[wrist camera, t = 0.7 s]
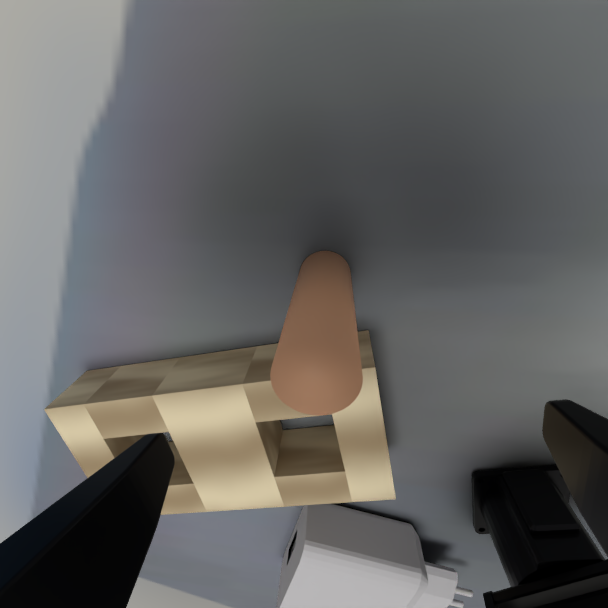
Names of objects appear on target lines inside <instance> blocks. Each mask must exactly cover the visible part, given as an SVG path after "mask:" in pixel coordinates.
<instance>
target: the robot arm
mask: <svg viewBox="0 0 608 608" xmlns="http://www.w3.org/2000/svg"><path fill="white" fill-rule="evenodd" d="M542 431H543V437H544V440H545V442H546V444H547V446H548V448H549V450H550V452H551V454H552V456H553V459H554V461H555V463H556V465H553V466H540V467H527V468H514V469H500V470H487V471H477V472H475V473H473V474H472V498H473V526H474V528H475V531H476V532H477V533H479V534H490V535H491V538H492V540H493V543H494V545H495V548H496V550H497V553H498V555H499V558H500V560H501V563H502V565H503V568H504V570H505V573H506V575H507V578H508V580H509V583H510V585H511V587H510V588H507V589H503V590H500V591H496V592H492V591H489V592H486V593H483V596H484V601H485V606H486V608H608V559H607V560H605V559H604V557H603V556H602V554H601V553H600V551H599V550H598V548H597V547H596V545H595V543H594V542H593V540H592V539H591V537H590V536H589V534H588V533H587V531H586V530H585V528H584V527H583V525H582V524H581V522H580V520H579V519H578V517H577V516H576V514H575V513H574V511H573V510H572V508H571V507H570V505H569V504H568V503H569V495H570V493H571V495H572V497H573V499H574V501H575V503H576V505H577V507H578V509H579V510H580V512H581V514H582V516H583V517H584V519H585V521H586V522H587V524H588V526H589V527H590V529H591V531H592V532H593V534H594V535H595V537H596V539H597V540H598V542H599V543H600V545H601V547H602V548H603V550H604V552H605V553H606V555H607V556H608V419H606V418H605V417H603V416H601V415H599V414H597V413H595V412H593V411H591V410H589V409H587V408H585V407H583V406H581V405H579V404H577V403H575V402H573V401H570V400H553V401H548V402H547V403H546V405H545V410H544V419H543V430H542ZM174 465H175V458H174V454H173V452H172V450H171V447H170V445H169V443H168V440H167V438H166V436H165V435H164V434H163V433H151V434H147V435H145V436H143V437H142V438H141V439H139V440H138V441H137V442H135V443H134V444H133V445H131V446H130V447H129V448H127V449H126V450H125V451H123V452H122V453H121V454H119V455H118V456H117V457H115V458H114V459H113V460H111V461H110V462H109V463H107V464H106V465H105V466H103V467H102V468H101V469H99V470H98V471H97V472H95V473H94V474H93V475H91V476H90V477H89V478H87V479H86V480H85V481H83V482H82V483H81V484H79V485H78V486H77V487H75V488H74V489H73V490H71V491H70V492H69V493H67V494H66V495H65V496H63V497H62V498H60V499H59V500H58V501H56V502H55V503H54V504H52V505H51V506H50V507H48V508H47V509H46V510H44V511H43V512H42V513H40V514H39V515H38V516H36V517H35V518H34V519H32V520H31V521H30V522H28V523H27V524H26V525H24V526H23V527H22V528H20V529H19V530H18V531H16V532H15V533H14V534H13V535H11V536H10V537H9V538H7V539H6V540H4V541H3V542H2V543H0V608H126V606H127V604H128V601H129V598H130V596H131V594H132V591H133V588H134V586H135V583H136V581H137V578H138V575H139V573H140V570H141V568H142V565H143V562H144V560H145V557H146V555H147V552H148V549H149V547H150V544H151V542H152V539H153V536H154V533H155V531H156V528H157V525H158V521H159V518H160V515H161V511H162V508H163V504H164V501H165V497H166V494H167V490H168V487H169V483H170V480H171V476H172V472H173V469H174Z"/></svg>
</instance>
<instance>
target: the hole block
mask: <svg viewBox="0 0 608 608" xmlns="http://www.w3.org/2000/svg"><path fill="white" fill-rule="evenodd" d="M358 340H359V349H360V357H361V366H362V375H363V384H362V388H361V391H360V393H359V395H358V397H357V398H356V399H355V400H354V402H353V403H351V404H350V405H349V406H348V407H346V408H345V409H343V410H341V411H339V412H336V413H333V414H332V416H333V421H334V425H329V426H319V427H309V428H300V429H290V430H283V429H282V425H281V422H280V420H283V419H293V418H302V417H311V416H320V415H309V414H304V413H301V412H298V411H296V410H294V409H292V408H290V407H289V406H287V405H286V404H285V403H283V402H282V401H281V400H280V399H279V397H278V396H277V395H276V393H275V391H274V390H273V387H272V384H271V379H270V373H271V367H272V363H273V360H274V357H275V353H276V350H277V346H278V343H276V344H269V345H262V346H255V347H248V348H242V349H235V350H228V351H221V352H214V353H207V354H200V355H193V356H186V357H179V358H172V359H165V360H158V361H152V362H145V363H138V364H131V365H124V366H117V367H110V368H103V369H96V370H89V371H86V372H85V373H84V374H83V375H82V376H81V377H79V378H78V379H77V380H76V381H75V382H74V383H73V384H72V385H71V386H69V387H68V388H67V389H66V390H65V391H64V392H63V393H62V394H61V395H59V396H58V397H57V398H56V399H55V400H54V401H53V402H52V403H51V404H49V405H48V406H47V407H46V408H45V409H44V410H45V412H46V413H47V415H48V416H49V418H50V419H51V421H52V423H53V424H54V426H55V427H56V429H57V430H58V432H59V433H60V435H61V437H62V438H63V440H64V441H65V443H66V444H67V446H68V448H69V449H70V451H71V452H72V454H73V455H74V457H75V459H76V460H77V462H78V463H79V465H80V466H81V468H82V470H83V471H84V473H85V474H86V476H87V477H88V478H89V477H90V476H91V475H93V474H94V473H95V472H97V471H98V470H99V469H101V468H102V467H103V466H105V465H106V464H107V463H109V462H110V461H111V460H113V459H114V458H115V457H117V456H118V455H119V454H121V453H122V452H123V451H125V450H126V449H127V448H129V447H130V446H131V445H133V444H134V443H135V442H137V441H138V440H139V439H141V438H142V437H143V436H145V435H147V434H151V433H162V432H169V433H170V435H171V437H172V439H173V442H168V443H169V445H170V447H171V450H172V452H173V454H174V458H175V465H174V469H173V472H172V476H171V480H170V483H169V487H168V490H167V494H166V497H165V501H164V504H163V508H162V511H161V515H164V514H179V513H194V512H209V511H224V510H239V509H255V508H270V507H285V506H300V505H315V504H331V503H346V502H361V501H376V500H391V499H396V497H395V491H394V484H393V478H392V472H391V465H390V459H389V452H388V446H387V440H386V433H385V427H384V420H383V414H382V407H381V401H380V395H379V388H378V382H377V375H376V369H375V363H374V358H373V352H372V346H371V341H370V335H369V330H366V331H359V332H358ZM328 415H330V414H328Z"/></svg>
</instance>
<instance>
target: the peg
mask: <svg viewBox="0 0 608 608" xmlns="http://www.w3.org/2000/svg"><path fill="white" fill-rule="evenodd" d="M270 379H271V384H272V387H273V390H274V391H275V393H276V395H277V396H278V397H279V399H280V400H281V401H282V402H283V403H285V404H286V405H287V406H289V407H290V408H292V409H294V410H296V411H298V412H301V413H304V414H309V415H328V414H333V413H336V412H339V411H341V410H343V409H345V408H346V407H348V406H349V405H350V404H351V403H353V402H354V400H355V399H356V398H357V397H358V395H359V393H360V391H361V388H362V384H363V375H362V366H361V357H360V349H359V340H358V332H357V323H356V315H355V306H354V297H353V289H352V280H351V272H350V268H349V265H348V263H347V262H346V260H345V259H344V258H343V257H342V256H340V255H339V254H337V253H335V252H332V251H318V252H315V253H313V254H311V255H310V256H308V257H307V258H306V259H305V260H304V262H303V263H302V265H301V268H300V271H299V275H298V278H297V282H296V285H295V288H294V292H293V295H292V299H291V302H290V305H289V309H288V312H287V316H286V319H285V323H284V326H283V329H282V333H281V336H280V340H279V343H278V346H277V350H276V353H275V357H274V360H273V363H272V367H271V373H270Z"/></svg>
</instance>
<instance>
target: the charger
mask: <svg viewBox="0 0 608 608" xmlns="http://www.w3.org/2000/svg"><path fill="white" fill-rule="evenodd" d="M296 530H297V537H296V540H295V542H294V545H293V547H292V549H291V555H288V551H289V548H290V545H291V543H292V540H293V538H294V535H295V533H296ZM457 582H458V573H457V572H456V571H455V570H454V569H452V568H448V567H444V566H441V565H437V564H433V563H429V562H425V561H424V557H423V553H422V548H421V543H420V539H419V536H418V534H417V533H416V531H415V530H414V528H413V526H412V525H411V524H409V523H405V522H401V521H397V520H393V519H389V518H385V517H381V516H377V515H374V514H370V513H366V512H362V511H358V510H354V509H350V508H346V507H342V506H339V505H335V504H315V505H304V506H303V508H302V511H301V513H300V516H299V518H298V521H297V523H296V526H295V528H294V531H293V533H292V536H291V538H290V541H289V543H288V546H287V548H286V551H285V553H284V557H283V561H282V567H281V575H280V583H279V591H278V598H277V606H276V608H447V607H448V605H452V606H456V607H460V608H463V606H464V604H463V602H462V601H459V600H455V599H453V598H454V594H455V593H457V594H461V595H465V596H469V597H472V596H473V592H472V590H468V589H464V588H460V587H456V586H457Z"/></svg>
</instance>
